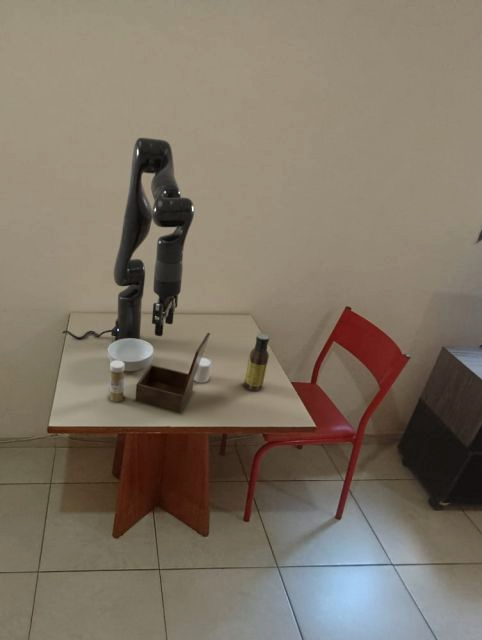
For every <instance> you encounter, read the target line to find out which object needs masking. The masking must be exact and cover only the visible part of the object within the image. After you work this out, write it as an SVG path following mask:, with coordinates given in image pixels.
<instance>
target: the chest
mask: <svg viewBox="0 0 482 640" xmlns="http://www.w3.org/2000/svg"><path fill="white" fill-rule="evenodd" d="M188 374H189V373H186V372H183V371H178V370H175V369H171V368H167V367H163V366H162V367H161V366H159V365H154V364H150V365H149V366H148V368H147V370H146V371H144V374H143V375H142V376H141V377H140V379H139V380H138V381H137V383H136V386H135V402H138V403H141V404H144V405H148V406H152V407H155V408H159V409H163V410H166V411H170V412H174V413H177V414H182V411H183V409H184V407H185V405H186V403H187V402H188V400H189V398H190V396H191V395H192V393H193V388H194V378H193V380H192V382H191V384H190V385H189V387H188V389H187V391H186V392H185V394H184V396H183V395H181V394H182V391H183V388H184V385H185V382H186V379H187V376H188Z"/></svg>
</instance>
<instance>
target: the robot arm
mask: <svg viewBox="0 0 482 640" xmlns="http://www.w3.org/2000/svg"><path fill="white" fill-rule="evenodd" d="M143 174H149V175H150V174H151V175H153V177H152V179H151V183H150V189H151V195H152V197H153V205H151V203H150V200H149V198H148V196H147V193H146V191H145V189H144V185H143V182H142V180H143V179H142V178H143ZM194 217H195V205H194V203H193V201H192V200H191V198H189V197H183V196H182V195H181V191H180V188H179V184H178V181H177V179H176V175H175V164H174V156H173V149H172V146H171V143H170V142H169V141H167V140H165V139H158V138H150V137H138V138H137V139H136V140H135V143H134V146H133V151H132V158H131V169H130V179H129V186H128V195H127V198H126V204H125V210H124V216H123V221H122V228H121V229H122V230H121V236H120V242H119V247H118V251H117V254H116V258H115V262H114V266H113V279H114V282H115V284H116V285H117V286H118V287H126V288H124V289H123V290H121V291H120V292H119V293H118V295H117V318H116V319H115V323H114V324H115V325H114V327H113V328H111V329H107V330H104V331H102V332H101V333H99V334H97V333H96V331H94V330H88V331H87V332H86V333H85V334H84V335H82V336H76V335H74V334H73V333H72V332H71V331H70V330H64V331H62V334H65V333H67V334H69V335H70V336H71V337H72V338H74V339H77V340H82V339H84V338H86V337H87V335H88V334H93V335H94V336H95V337H97V338H100V337H101V336H102V335H104V334H106V333H111V334H110V335H111V336H112V337H114V342H115V341H117V340H120V339H127V338H134V339H140V340H141V329H142V328H141V325H142V307H143V306H142V305H143V304H142V303H143V297H144V292H145V291H144V289H145V280H146V267H145V264H144V262H143V260H142V259H140V258H133V259H132V257H133V255H134V253H136V251H137V250H138V249H139V247H140V246H141V245H142V244H143V243H144V241H145V240H146V239H147V237H148V236H149V234H150V230H151V227H152V222H153V223H154V225H156V226H157V227H159V228H175V229H174V231H173V232H171V233H168V234H165V235H162V236H159V238H158V239H157V242H156V256H155V264H154V274H153V289H152V290H153V292H154V294H155V295H157V296H158V298H157V300H156V302H154V303H153V306H152V317H151V324H152V325H154V335H155V336H156V337H157V336H158V337H162V336H163V335H164V324H167V325H172V324H174V315H175V314H174V313H175V312H176V309H177V308H178V301H179V294H181V290H182V279H183V270H184V269H183V267H184V266H183V258H184V248H185V243H186V239H187V236H188V233H189V231H190V227H191V225H192V223H193V220H194Z"/></svg>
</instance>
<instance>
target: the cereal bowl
mask: <svg viewBox="0 0 482 640" xmlns="http://www.w3.org/2000/svg"><path fill="white" fill-rule="evenodd" d="M154 351H155V349H154V347H153V345H152V344H151V343H150V342H148V341H146V340H144V339H141V338H140V339H134V338H127V339H120V340H117V341H115V340H114V341H112V343H110V344H109V346H108V348H107V356H108V360H109V362H110V363H111V362H113V361H122V362H123V363H124V364H125V369H124V372H125V371H126V372H136V371H140V370H143V369H145V368H147V367H149V366H150V365H151V363H152V361H153V358H154V355H155V354H154V353H155V352H154Z"/></svg>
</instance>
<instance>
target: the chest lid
mask: <svg viewBox="0 0 482 640" xmlns="http://www.w3.org/2000/svg"><path fill="white" fill-rule="evenodd" d="M210 336H211V333H210V332H207V333H206V335H205V337H204V338H203V340H202V342H201V343H200V345H198V348H197V349H196V351H195V353H194V356H193V360H192V361H191V365H190V368H189V371H188V373H187V374H188V376H187V379H186V382H185V385H184V388H183V391H182V394H181V395H183V396H184V394H185V392H186V391H187V389H188V387H189V385H190V384H191V382H192V380H193V378H194V377H195V375H196V372H197V369H198V367H199V364H200V361H201V358H202V357H203V355H204V353H205V349H206V347H207V344H208V341H209V339H210Z"/></svg>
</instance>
